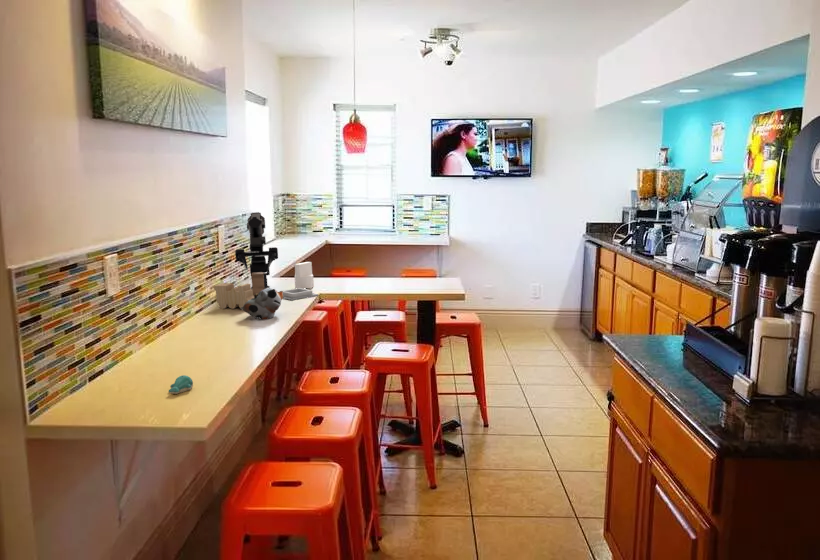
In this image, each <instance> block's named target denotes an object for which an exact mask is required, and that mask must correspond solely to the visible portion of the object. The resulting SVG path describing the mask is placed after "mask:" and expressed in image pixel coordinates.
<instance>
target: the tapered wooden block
mask: <svg viewBox="0 0 820 560" xmlns="http://www.w3.org/2000/svg"><path fill="white" fill-rule="evenodd" d="M250 277H251V287H252V288H251V289H252V290H253V296H254V295H255V294H256V293H257V294H259V292H260V291H262V290H264V289H265V288H264V275H263V272H257V273H252V274H251V273H250Z"/></svg>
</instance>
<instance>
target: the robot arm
mask: <svg viewBox="0 0 820 560" xmlns="http://www.w3.org/2000/svg"><path fill="white" fill-rule="evenodd" d="M265 229H266V220H265V217H264V215H263V216H262V213H261V212H259V211H256V212H251V213H250V216H249V217H248V218H247V222H246V230H247V231H248V232H249V251H245V248H241V249H240V248H239V249H236V250H235V251H234V252H235V253H234V255H235V261H237V262H239V263H242V264H243V267H244V268H245V270H246V271H248V263H247V262H248V261H247V258H246V257H251V258H250V261H251V262H250V263H249V271H250V275H251V274H252V273H257V272H263V275H264V289H268V288H270V287H271V286H270V285H268V277H267V276H270V274H271V272H270V267H271V264H272V263H273V261H276V260H278V259H279V249H278V247H275V246H274V247H273V246H272V247H268V250H264V245H266V244H267V243H266V242H267V241H266V236H265V235H264V233H265ZM263 235H264V236H263ZM266 257H267V258H266ZM266 260H267V261H266ZM251 289H252V286H251Z"/></svg>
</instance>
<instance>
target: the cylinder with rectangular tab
mask: <svg viewBox="0 0 820 560" xmlns="http://www.w3.org/2000/svg"><path fill="white" fill-rule="evenodd" d="M312 264H313V263H312V261H305V262H299V263H294V276H293V277H294V287H295V288H294V289H296V288H302V289H304V288H310V289H313V288H312V287H315V280H314V274H313V265H312Z"/></svg>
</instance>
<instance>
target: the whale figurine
mask: <svg viewBox="0 0 820 560" xmlns="http://www.w3.org/2000/svg"><path fill="white" fill-rule="evenodd" d="M193 386H194V382H193V379H192V378H191V376H188V375H183V374H182V375H179V376H178V377H177V378H176V379H175V381H174V383H172V384H170V389H168V393H169V394H172V395H173V394H175V395H177V394H181V393H184V392H187V391H191V390H192V389H193Z"/></svg>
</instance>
